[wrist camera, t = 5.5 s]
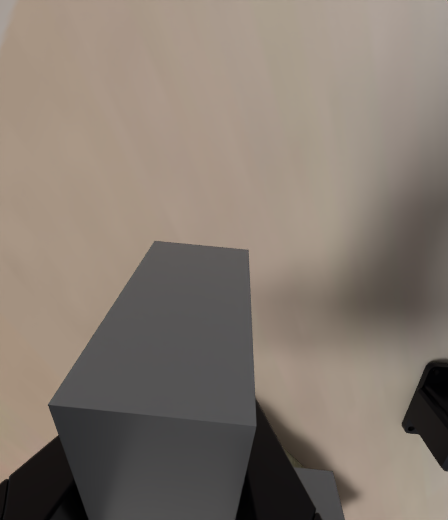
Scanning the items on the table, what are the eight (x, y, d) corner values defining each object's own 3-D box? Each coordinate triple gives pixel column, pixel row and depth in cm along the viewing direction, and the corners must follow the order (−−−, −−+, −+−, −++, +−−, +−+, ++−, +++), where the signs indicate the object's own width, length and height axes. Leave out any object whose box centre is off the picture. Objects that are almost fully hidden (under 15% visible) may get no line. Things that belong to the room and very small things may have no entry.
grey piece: (438, 268, 7) (683, 470, 3) (323, 489, 13) (360, 662, 9) (-31, 223, 7) (-358, 362, 3) (60, 461, 13) (-22, 619, 9)
